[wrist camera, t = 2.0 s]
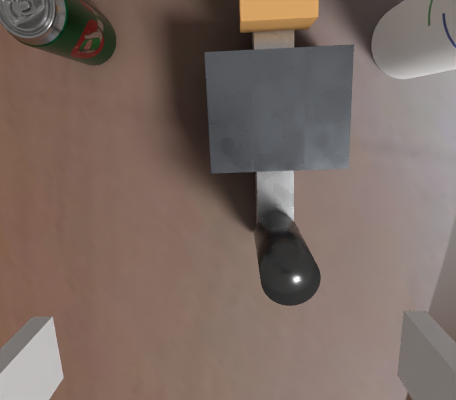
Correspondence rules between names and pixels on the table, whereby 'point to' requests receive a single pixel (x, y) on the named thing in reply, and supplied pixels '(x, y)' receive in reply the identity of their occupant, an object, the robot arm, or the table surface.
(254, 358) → the table surface
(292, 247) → the shaft
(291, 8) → the block
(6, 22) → the soda can
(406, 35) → the cylindrical container
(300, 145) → the block
